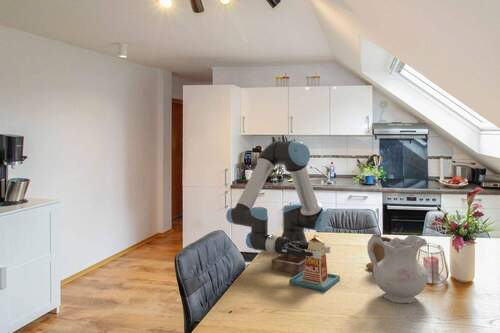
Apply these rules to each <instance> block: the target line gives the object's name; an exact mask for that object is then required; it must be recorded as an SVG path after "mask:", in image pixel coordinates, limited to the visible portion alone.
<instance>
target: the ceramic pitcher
mask: <svg viewBox="0 0 500 333" xmlns="http://www.w3.org/2000/svg"><path fill="white" fill-rule="evenodd" d="M381 237H382V234H380V233H378V234H377V233H374V234H373V235H371V237H370V238H369V239H368V242H367V255H368V256H369V261H370V263H371V262H372V264H373V270H372V273H373V275H374V280H375V283H376V285H377V287H378V288H379V289H380V290H381V291H382V292H384V293H383V294H382V296H383V297H384V299H385V300H386V301H390V302H393V303H395V304H412V303H413V304H415V303H417V302H419V301H420V300H419V299H418V298H417V297H416V296H418V295H420V294H421V293H422V292H423V291H424V290H425V288H426V287H427V283H428V280H429V278H428V271H427V269H426V268H425V267H424V266H423V265H422V264H421V263H420V262H419V261H418V260H417V254H418V251H419V250H420V249H421V248H422V247H425V246H427V245H428V242H427V239H425V238H423V237H420V236H419V235H417V234H410V235H408V236H407V237H405V238H399V237H398V236H396V237H394V238H391V239H392V240H391V241H390V242H386V241H384V242H383V241H382V238H381ZM375 243H379V244H380V245H381V246H382V247H384V250H385V257H384V259H383V260H382V261H380V262H379V263H377V262H376V258H375V255H374V253H373V245H374V244H375Z"/></svg>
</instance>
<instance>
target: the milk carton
mask: <svg viewBox="0 0 500 333" xmlns="http://www.w3.org/2000/svg"><path fill="white" fill-rule="evenodd" d="M308 242H309V245H308V249H307V250H312V251H318V252H321V259H318V258H312V257H306V262H305V268H304V272H303V276H302V280H301V281H304V282H309V283H313V284H318V285H323V284H324V283H325V282H326V281H327V279H328V262H327V253H326V251H325V246H326V245H325V244H326V243H325V242H324V240H323V239H322V238H320V235H319V234H313V238H311V239H310V240H308Z"/></svg>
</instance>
